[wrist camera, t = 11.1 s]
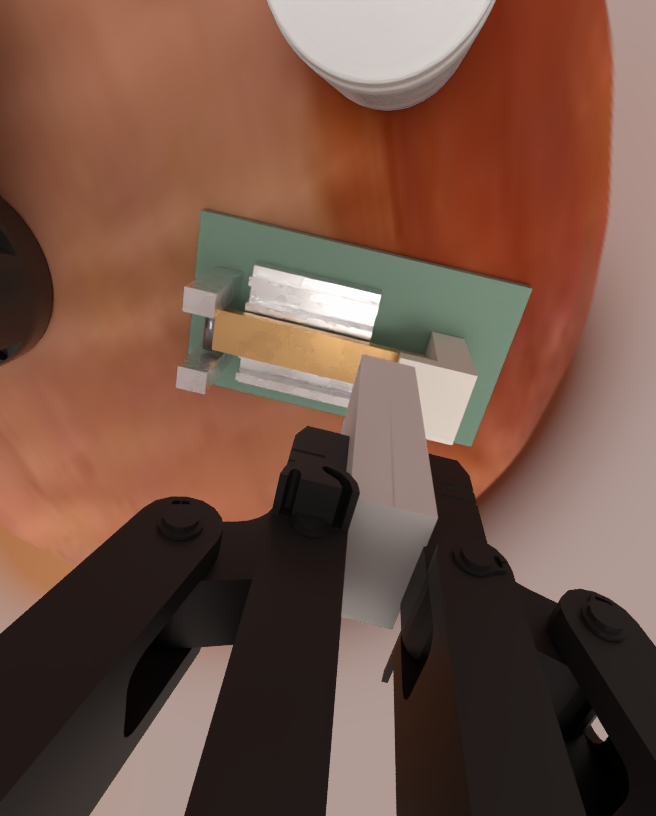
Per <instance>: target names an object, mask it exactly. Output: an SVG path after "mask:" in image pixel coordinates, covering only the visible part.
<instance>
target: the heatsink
mask: <svg viewBox="0 0 656 816" xmlns="http://www.w3.org/2000/svg"><path fill="white" fill-rule="evenodd" d="M242 279H243V272H242V271H238V270H234V269H229V268H225V267H221V266H215V267H214V268H212V269H210V270H209V271H207V272H206V273H204V274H203V275H201V276H200V277H198V278H197V279H195V280H194V281H192V282H190V283H189V284H187V285H186V286H184V298H183V310H182V311H184V312H188V313H192V314H196V315H200V316H204V317H209V318H215V317H216V316H217V315H218V314H219V313H220V312H221V311H222V310H223V309H224V308H225V307H226V306H227V305H229V304H230V303H231V302H232V301H233V300H234V299H235V298H236V297H237V296H238V295H239V294H240V293H241V287H242ZM248 285H249V286H251V291H250V299H249V300H248V301H247V302H246V305H245V311H248V313H251V314H255V315H259V316H263V317H267V318H271V319H276V320H280V321H284V322H288V323H292V324H296V325H300V326H305V327H309V328H313V329H317V330H321V331H325V332H329V333H334V334H338V335H342V336H346V337H350V338H354V339H358V340H362V341H367V342H369V341H370V339H371V336H372V331H373V326H374V322H375V318H376V316H377V312H378V308H379V302H380V298H381V294H382V290H378V289H374V288H370V287H365V286H361V285H357V284H353V283H348V282H344V281H340V280H336V279H332V278H327V277H323V276H319V275H315V274H311V273H306V272H302V271H298V270H294V269H289V268H285V267H281V266H277V265H273V264H268V263H264V262H260V261H259V262H257V263H256V264H255V265H254V270H253V274H252V275H251V276H250V277H249V284H248ZM202 344H203V342H202V343H201V344H200V345H199V346H198V347H197V348H196V349H195V350H194V351H192V352H191V353H190V354H189V355H188V356H187V357H186V358H185V359H184V360H183V361H182V362H181V363H180V364H179V365H178V370H177V382H176V388H180V389H184V390H188V391H192V392H196V393H201V394H206V392H207V391H208V390H209V389H210V387H211V386H212V385H213V383H214V382H215V381H216V380H217V378H218V377H219V376H220V375H221V373H222V372H223V371H224V369H225V368H226V367H227V366H228V364H229V363H230V362H231V360H232V354H227V353H223V352H219V351H207V350H204V349H203V348H202ZM238 358H241V362H240V368H239V369H238V371H237V372H236V377H235V380H238V382H242V383H246V384H250V385H254V386H259V387H263V388H267V389H271V390H275V391H279V392H284V393H288V394H292V395H296V396H300V397H304V398H309V399H313V400H317V401H321V402H325V403H329V404H334V405H338V406H342V407H346V408H347V407H348V403H349V400H350V396H351V393H352V389H353V385H354V384H351V383H347V382H342V381H338V380H334V379H330V378H326V377H322V376H318V375H314V374H310V373H305V372H301V371H297V370H293V369H289V368H285V367H281V366H277V365H273V364H269V363H264V362H260V361H256V360H252V359H248V358H244V357H240V356H238Z"/></svg>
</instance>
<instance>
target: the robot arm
mask: <svg viewBox="0 0 656 816" xmlns="http://www.w3.org/2000/svg"><path fill="white" fill-rule="evenodd" d="M51 309H52V286H51V279H50V275H49V271H48V267H47V264H46V261H45V258H44V256H43V254H42V251H41V249H40V247H39V245H38V243H37V241H36V239H35V238H34V236H33V234H32V233H31V231H30V230H29V228H28V227H27V225H26V224H25V223H24V221H23V220H22V219H21V218H20V216H19V215H18V214H17V213H16V212H15V211H14V210H13V209H12V208H11V207H10V206H9V205H8V204H7V203H6V202H5V201H4V200H3V199H2V198H1V197H0V366H2V365H4V364H6V363H8V362H10V361H12V360H14V359H15V358H17V357H19V356H21V355H23V354H24V353H26V352H27V351H29V350H30V349H31V348H32V347H33V346H35V344H36V343H37V342H38V341H39V340H40V338H41V337H42V335H43V334H44V332H45V330H46V328H47V325H48V322H49V319H50V315H51ZM400 610H401V632H400V634H399V636H398V639H397V641H396V644H395V646H394V648H393V651H392V654H391V655H390V658H389V660H388V663H387V665H386V667H385V670H384V673H383V677H382V682H386V683H388V681H389V678H390V676H391V674H392V671H394V714H395V715H394V716H395V765H396V809H397V816H656V646H655V645H654V644H653V642H652V641H651V640H650V639H649V637H648V636H647V635H646V633H645V632H644V631H643V629H642V628H641V627H640V626H639V624H638V623H637V622H636V621H635V620H634V619H633V618H632V617H631V616H630V615H629V614H628V612H627V611H626V610H624V609H623V608H622V607H620V606H619V605H617V604H616V603H614V602H613V601H612V600H610V599H609V598H606V597H604V596H602V595H600V594H597V593H596V592H593V591H587V590H583V589H575V590H569V591H567V592H566V593H565V594H564V595H563V596H562V597H561V599H560V600H559V602H558V603H556V602H554V601H552V600H550V599H548V598H545V597H544V596H542V595H539V594H537V593H535V592H533V591H531V590H529V589H527V588H525V587H524V586H522V585H520V584H518V583H517V582H515V578H514V575H513V572H512V570H511V567H510V566H509V564H508V562H507V560H506V559H505V558H504V557H503V556H502V555H501V554H500V553H499V552H498V551H497V550H496V549H495V548H493V547H492V546H490V545H489V544H487V540H486V536H485V533H484V529H483V525H482V522H481V518H480V514H479V510H478V507H477V505H476V499H475V495H474V493H473V488H472V484H471V480H470V476H469V475H468V473H467V472H466V471H465V470H464V468H463V467H462V466H461V465H460V464H459V462H458V461H456V460H452V459H448V458H444V457H440V456H436V455H432V454H428V449H427V442H426V436H425V429H424V423H423V416H422V410H421V403H420V397H419V390H418V384H417V377H416V371H415V367H412V366H408V365H404V364H400V363H396V362H392V361H388V360H384V359H380V358H376V357H372V356H368V355H364V354H362V356H361V360H360V364H359V367H358V371H357V375H356V378H355V382H354V385H353V389H352V393H351V396H350V400H349V403H348V407H347V411H346V414H345V418H344V422H343V425H342V429H341V432H340V434H339V433H335V432H330V431H326V430H322V429H318V428H314V427H310V426H307V427H306V428H304V429H303V430H302V431H300V432H299V433H298V434H296V435H295V439H294V442H293V446H292V450H291V453H290V456H289V460H288V463H287V465H286V466H285V468H284V469H283V470H282V472H281V473H280V477H279V481H278V486H277V490H276V495H275V499H274V504H273V508H272V509H271V510H270V511H269V512H268V513H267V514H265V515H263V516H261V517H259V518H256V519H253V520H249V521H239V522H222V518H221V516H220V515H219V514H218V512H217V511H216V510H215V508H213V507H212V506H210V505H208V504H207V503H205V502H204V501H201V500H197V499H194V498H190V497H168V498H164V499H159V500H156V501H154V502H152V503H151V504H149V505H147V506H146V507H144V508H143V509H142V510H140V511H139V512H138V513H137V514H136V515H135V516H134V517H133V518H131V519H130V520H129V521H128V522H127V523H126V524H125V525H123V526H122V527H121V528H120V529H119V530H118V531H117V532H115V533H114V534H113V535H112V536H111V537H110V538H109V539H108V540H106V541H105V542H104V543H103V544H102V545H101V546H100V547H98V548H97V549H96V550H95V551H94V552H93V553H92V554H91V555H89V556H88V557H87V558H86V559H85V560H84V561H83V562H81V563H80V564H79V565H78V566H77V567H76V568H75V569H73V570H72V571H71V572H70V573H69V574H68V575H67V576H66V577H64V578H63V579H62V580H61V581H60V582H59V583H58V584H56V585H55V586H54V587H53V588H52V589H51V590H50V591H49V592H47V593H46V594H45V595H44V596H43V597H42V598H41V599H39V600H38V601H37V602H36V603H35V604H34V605H33V606H31V607H30V608H29V609H28V610H27V611H26V612H25V613H24V614H22V616H20V617H19V618H18V619H17V620H16V621H15V622H13V623H12V624H11V625H10V626H9V627H8V628H7V629H5V630H4V631H3V632H2V633H1V634H0V816H89V815H90V813H91V812H92V811H93V809H94V808H95V806H96V805H97V803H98V802H99V800H100V799H101V797H102V796H103V794H104V793H105V791H106V790H107V788H108V787H109V785H110V784H111V782H112V781H113V780H114V778H115V777H116V775H117V774H118V772H119V771H120V769H121V768H122V766H123V765H124V763H125V762H126V760H127V759H128V757H129V756H130V754H131V753H132V751H133V750H134V748H135V747H136V745H137V744H138V742H139V741H140V739H141V738H142V736H143V735H144V733H145V732H146V730H147V729H148V727H149V726H150V725H151V723H152V721H153V720H154V719H155V717H156V716H157V714H158V713H159V711H160V710H161V708H162V707H163V705H164V704H165V702H166V701H167V699H168V698H169V696H170V695H171V693H172V692H173V690H174V689H175V687H176V686H177V684H178V683H179V681H180V680H181V678H182V677H183V675H184V674H185V673H186V671H187V670H188V668H189V667H190V665H191V664H192V662H193V661H194V659H195V658H196V656H197V655H198V653H199V651H200V649H201V647H208V646H222V645H233V648H232V652H231V655H230V659H229V662H228V665H227V669H226V672H225V676H224V679H223V683H222V686H221V690H220V693H219V697H218V701H217V704H216V707H215V711H214V714H213V718H212V721H211V724H210V728H209V731H208V735H207V738H206V742H205V745H204V749H203V753H202V756H201V759H200V763H199V766H198V770H197V773H196V776H195V780H194V783H193V787H192V791H191V794H190V797H189V801H188V804H187V808H186V811H185V815H184V816H326V804H327V791H328V778H329V765H330V753H331V740H332V727H333V715H334V702H335V689H336V676H337V664H338V651H339V638H340V625H341V617H342V618H346V619H350V620H355V621H359V622H363V623H368V624H372V625H376V626H380V627H385V628H389V629H393V626H394V624H395V621H396V619H397V617H398V614H399V612H400ZM596 717H598V719H599V720H600V722H601V724H602V726H603V727H604V729H605V731H606V732H607V734H608V738H607V739H606V740H605V741H602V740H601V739H600V738H599V737H598V736H597V734H596V733H595V732H594V730H593V728H592V726H591V723H592V722H593V721H594V719H595V718H596Z"/></svg>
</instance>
